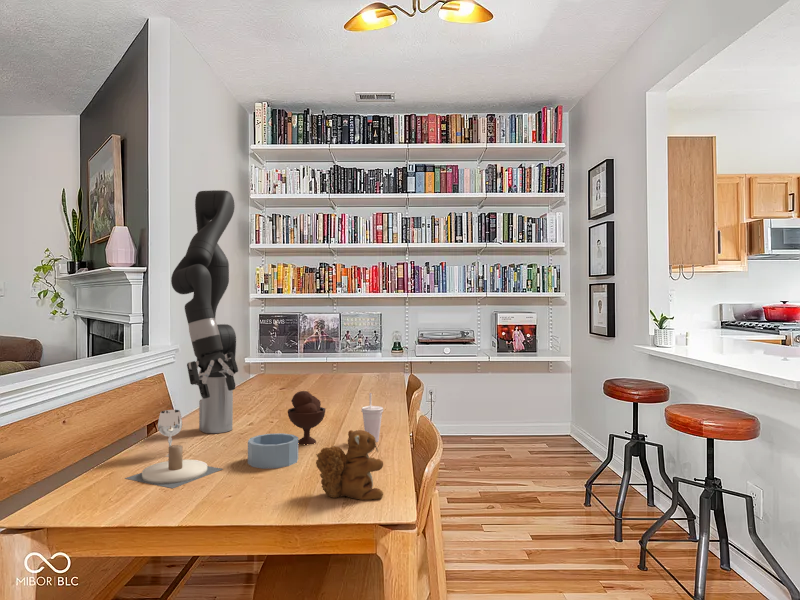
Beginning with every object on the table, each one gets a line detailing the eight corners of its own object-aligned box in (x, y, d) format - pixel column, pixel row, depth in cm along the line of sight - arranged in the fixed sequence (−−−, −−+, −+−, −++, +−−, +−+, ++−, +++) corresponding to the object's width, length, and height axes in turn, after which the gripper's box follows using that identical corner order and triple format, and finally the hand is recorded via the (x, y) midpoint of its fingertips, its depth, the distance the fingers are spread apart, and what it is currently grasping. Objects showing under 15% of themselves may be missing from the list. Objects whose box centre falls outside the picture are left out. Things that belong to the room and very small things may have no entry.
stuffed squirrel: (386, 499, 112) (386, 435, 112) (317, 504, 109) (317, 439, 109) (378, 483, 121) (378, 424, 121) (314, 488, 118) (314, 427, 118)
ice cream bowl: (318, 448, 150) (318, 394, 150) (280, 446, 152) (281, 392, 152) (331, 439, 160) (331, 388, 160) (295, 437, 162) (295, 387, 162)
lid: (128, 477, 123) (128, 450, 123) (177, 461, 135) (177, 436, 135) (172, 487, 117) (173, 458, 117) (220, 469, 129) (220, 443, 129)
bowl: (238, 466, 133) (238, 442, 133) (269, 454, 144) (269, 431, 144) (277, 473, 128) (277, 447, 128) (307, 459, 139) (307, 436, 139)
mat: (124, 480, 122) (124, 478, 122) (177, 463, 136) (177, 460, 136) (172, 491, 116) (172, 488, 116) (223, 471, 129) (223, 468, 129)
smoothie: (361, 438, 161) (361, 391, 161) (382, 438, 162) (382, 391, 162) (361, 444, 155) (361, 395, 155) (383, 443, 155) (384, 394, 155)
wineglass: (186, 455, 142) (187, 410, 142) (170, 462, 137) (171, 414, 137) (169, 453, 144) (169, 408, 144) (152, 459, 139) (153, 412, 139)
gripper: (217, 335, 158) (231, 389, 157) (174, 344, 146) (189, 402, 145) (234, 330, 153) (248, 385, 153) (191, 338, 142) (206, 399, 141)
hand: (219, 393), depth 149 cm, fingers open, 8 cm apart
